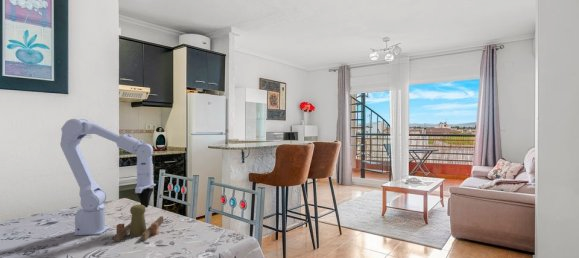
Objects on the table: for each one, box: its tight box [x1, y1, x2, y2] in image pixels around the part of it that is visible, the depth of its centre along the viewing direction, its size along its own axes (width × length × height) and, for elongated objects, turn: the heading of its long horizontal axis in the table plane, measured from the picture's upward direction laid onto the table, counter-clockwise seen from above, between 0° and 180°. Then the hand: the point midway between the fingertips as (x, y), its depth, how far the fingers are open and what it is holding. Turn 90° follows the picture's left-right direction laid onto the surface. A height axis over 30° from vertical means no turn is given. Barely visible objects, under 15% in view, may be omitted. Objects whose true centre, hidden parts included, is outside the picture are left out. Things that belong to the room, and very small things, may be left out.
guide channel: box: [114, 215, 164, 243], centre depth 122 cm, size 14×21×4 cm
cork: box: [128, 204, 147, 238], centre depth 119 cm, size 6×6×11 cm
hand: (145, 207), depth 126 cm, fingers closed
